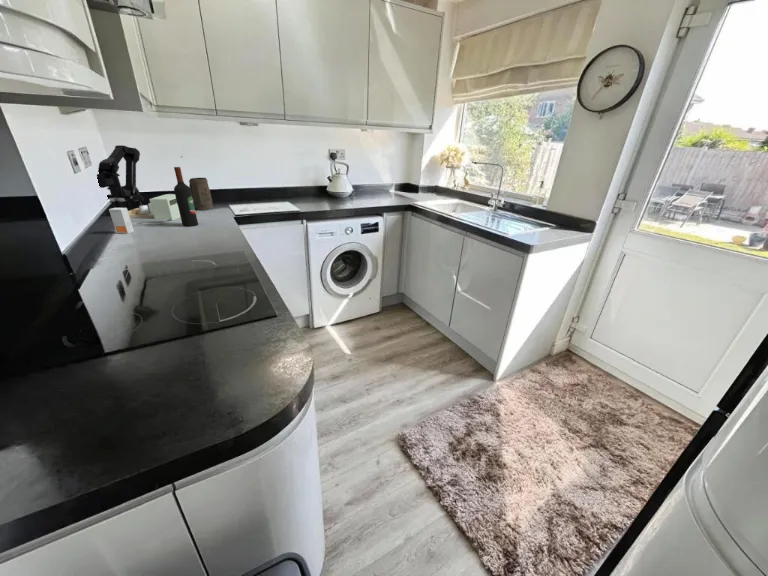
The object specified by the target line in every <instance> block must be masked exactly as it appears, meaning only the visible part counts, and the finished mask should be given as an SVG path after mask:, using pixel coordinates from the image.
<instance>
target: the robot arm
mask: <svg viewBox="0 0 768 576" xmlns="http://www.w3.org/2000/svg"><path fill="white" fill-rule="evenodd" d="M140 156H141V153H140V150H138V148H136V147H129V146H127V145H122V144H121V145H120V144H119V145H115V146H114V149H113V150H112V152H111V153H110V154H109V156H108V157H107V158H105V159H103V160H101V161H100V162H99V163H98V170H97V174H96V177H97V179H98V183H99V186H100V187H99V188H102V189H104V188H106V190H109V194H108V195H107V197H108V199H107V200H109V203H111V204H112V205H113V206H115V208H126V204H127V203H128V204H129V207H130V210H132V209H136V208H140V207H139V206H141V205H143V204H142V203H143V202H144V201H145V197H144V196H143V195H141V193H140V190H139V188H138V187H137V163H138V162H139V161H140ZM122 159H124V161H125V185H121V181H120V179H119V177H120V176H121V174H119V173H118V171H119V169H120V166H119V163H120V162H121V161H122ZM98 172H99V174H98Z"/></svg>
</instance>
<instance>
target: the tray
mask: <svg viewBox="0 0 768 576" xmlns="http://www.w3.org/2000/svg"><path fill="white" fill-rule="evenodd" d="M149 213H150V210H149ZM128 214H129V217H130V218H140V219H141V218H143V219H144V218H145V219H146V218H148V219H149V218H150V219H152V218H153V219H155V217H154V215H151V213H150V214H148V215H142V214H141V211H140V208H136V209H132V210H131V209H130V210H128Z"/></svg>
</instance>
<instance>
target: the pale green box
mask: <svg viewBox="0 0 768 576" xmlns="http://www.w3.org/2000/svg"><path fill="white" fill-rule="evenodd" d="M150 203H151V206H152V210H153V214H154V217H155V218H154V219H155V220H166V221H168V222H169V221H174V220H177V219H181V217H180V213H179V208H178V204H177V200H176V196H175V193H168V194H167V193H166V194H162V195H158V196H155V197H152V198H149V204H150Z"/></svg>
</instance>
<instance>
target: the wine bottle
mask: <svg viewBox="0 0 768 576" xmlns="http://www.w3.org/2000/svg"><path fill="white" fill-rule="evenodd" d="M173 168H174V174H175V177H176V181H177V182H176V183H177V184H176V185H175V186H174V187H173V192H174V194H175V196H176V200H177V204H178V208H179V213H180V220H181V223H182V227H184V228H191V227H197V226H199V222H198V217H197V213H196V208H195V207H196V206H195V203H194V199H193V196H192V194H191V189H190V187H189V186H188V185H187V184H186V183H185V181H184V178H183V174H182V169H181V166H174V167H173Z"/></svg>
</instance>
